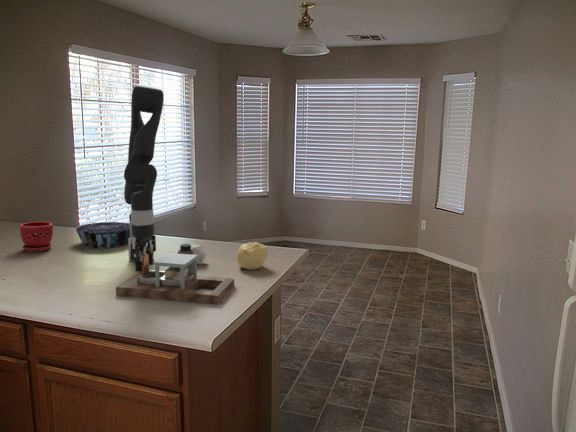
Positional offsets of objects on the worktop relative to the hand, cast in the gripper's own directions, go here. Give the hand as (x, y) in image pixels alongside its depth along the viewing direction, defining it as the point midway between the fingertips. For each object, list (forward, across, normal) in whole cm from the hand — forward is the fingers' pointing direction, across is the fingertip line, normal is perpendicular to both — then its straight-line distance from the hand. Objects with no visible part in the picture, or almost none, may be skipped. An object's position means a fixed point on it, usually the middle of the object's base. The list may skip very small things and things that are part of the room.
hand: (144, 267), depth 167 cm
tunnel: (+4, 0, +12) cm, 13 cm away
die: (+8, -33, +6) cm, 34 cm away
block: (+4, 0, +12) cm, 13 cm away
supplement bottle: (+8, -20, +7) cm, 23 cm away
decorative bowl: (+8, -54, -48) cm, 73 cm away
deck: (+7, 0, +12) cm, 14 cm away
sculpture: (+8, -33, +30) cm, 45 cm away
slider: (+4, 0, +8) cm, 9 cm away
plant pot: (+8, -37, -71) cm, 80 cm away
